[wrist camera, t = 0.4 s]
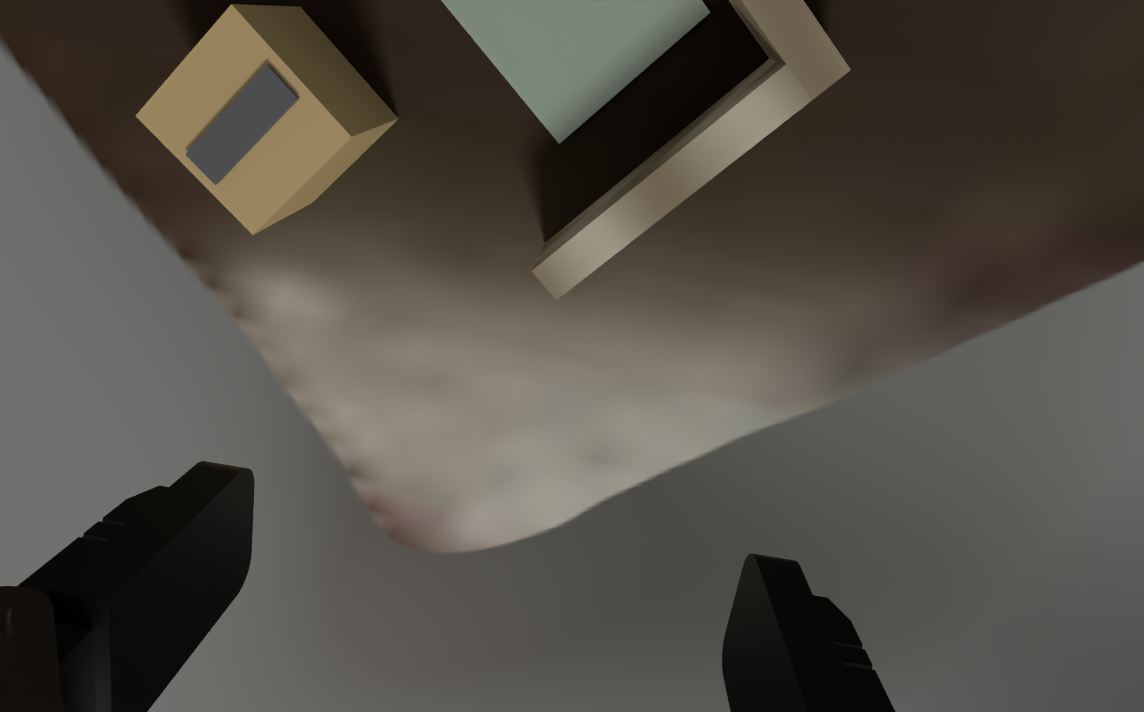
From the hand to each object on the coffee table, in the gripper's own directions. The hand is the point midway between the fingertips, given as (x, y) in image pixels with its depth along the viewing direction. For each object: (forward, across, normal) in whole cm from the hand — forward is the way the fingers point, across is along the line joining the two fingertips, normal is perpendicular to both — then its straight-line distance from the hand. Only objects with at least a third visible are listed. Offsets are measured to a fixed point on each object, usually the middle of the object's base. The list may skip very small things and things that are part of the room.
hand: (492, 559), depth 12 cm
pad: (+21, +1, -11) cm, 24 cm away
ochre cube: (+22, +12, -5) cm, 26 cm away
